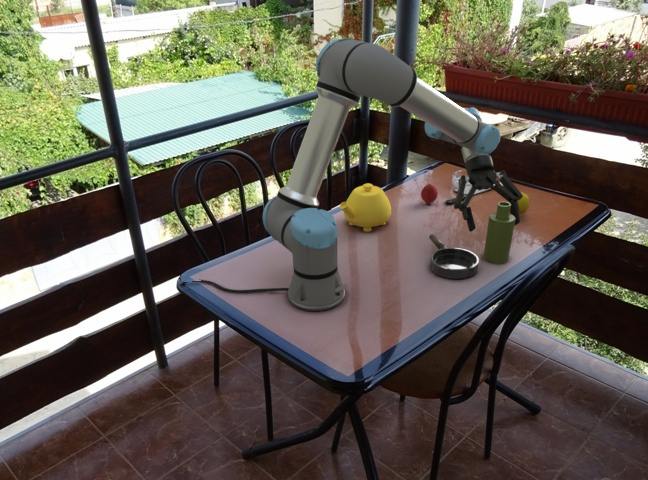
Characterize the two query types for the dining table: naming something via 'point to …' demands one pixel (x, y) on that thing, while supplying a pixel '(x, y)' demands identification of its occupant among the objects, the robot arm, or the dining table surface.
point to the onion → (429, 193)
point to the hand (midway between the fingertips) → (494, 226)
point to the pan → (454, 263)
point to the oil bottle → (499, 234)
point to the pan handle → (436, 241)
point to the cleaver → (467, 193)
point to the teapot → (367, 207)
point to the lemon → (523, 204)
